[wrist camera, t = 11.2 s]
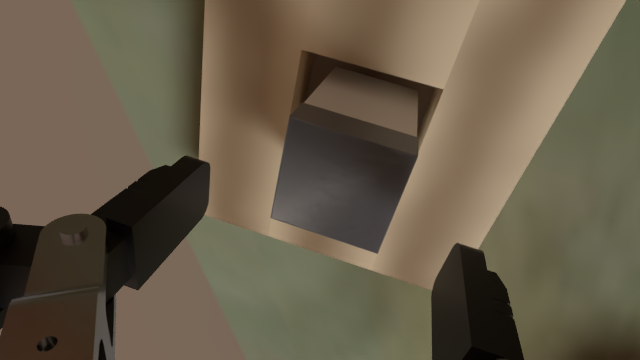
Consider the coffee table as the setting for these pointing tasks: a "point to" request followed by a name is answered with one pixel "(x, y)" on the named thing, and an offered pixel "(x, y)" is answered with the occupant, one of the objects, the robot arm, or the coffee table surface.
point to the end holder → (406, 70)
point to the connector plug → (348, 158)
